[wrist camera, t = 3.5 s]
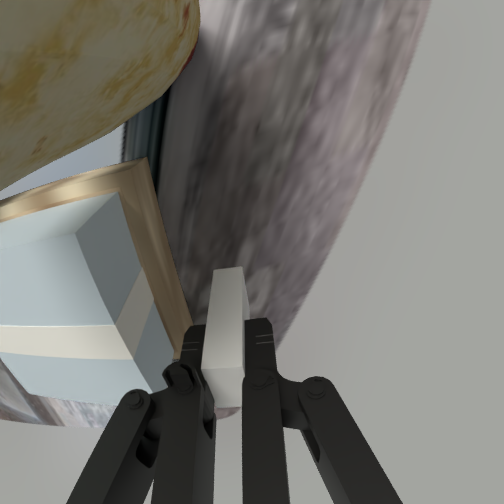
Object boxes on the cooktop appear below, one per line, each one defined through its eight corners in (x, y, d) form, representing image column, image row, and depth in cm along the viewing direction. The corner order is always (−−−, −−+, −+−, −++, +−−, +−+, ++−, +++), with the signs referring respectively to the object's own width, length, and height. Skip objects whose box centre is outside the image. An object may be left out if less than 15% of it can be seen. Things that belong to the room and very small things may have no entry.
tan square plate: (60, 335, 25) (48, 357, 22) (-2, 201, 18) (-25, 217, 15) (195, 330, 24) (190, 358, 22) (147, 156, 17) (130, 169, 15)
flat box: (50, 350, 22) (28, 394, 17) (-14, 227, 16) (-57, 264, 11) (174, 350, 21) (163, 408, 17) (118, 190, 15) (75, 233, 11)
